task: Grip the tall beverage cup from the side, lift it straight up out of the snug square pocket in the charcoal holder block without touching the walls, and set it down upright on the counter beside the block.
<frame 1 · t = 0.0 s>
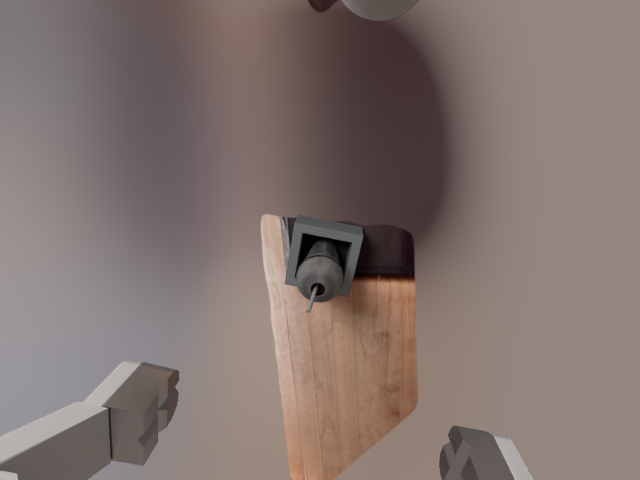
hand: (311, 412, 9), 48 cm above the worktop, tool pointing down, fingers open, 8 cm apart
beverage cup: (324, 250, 59), resting in holder block
holder block: (324, 250, 59), on the worktop
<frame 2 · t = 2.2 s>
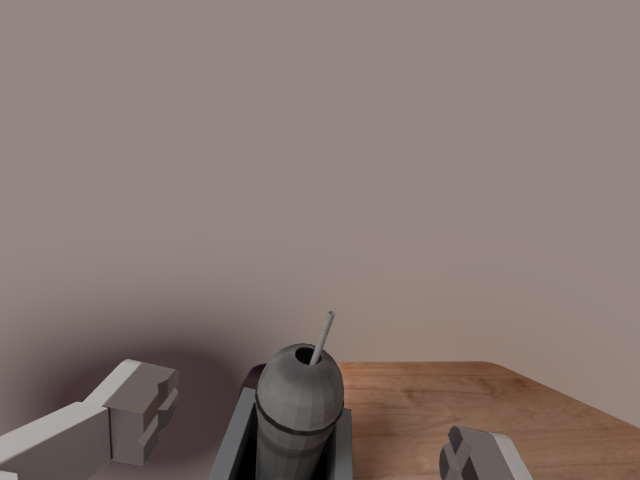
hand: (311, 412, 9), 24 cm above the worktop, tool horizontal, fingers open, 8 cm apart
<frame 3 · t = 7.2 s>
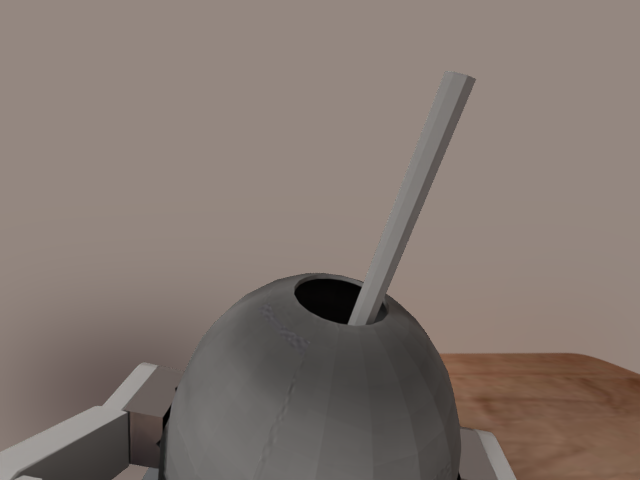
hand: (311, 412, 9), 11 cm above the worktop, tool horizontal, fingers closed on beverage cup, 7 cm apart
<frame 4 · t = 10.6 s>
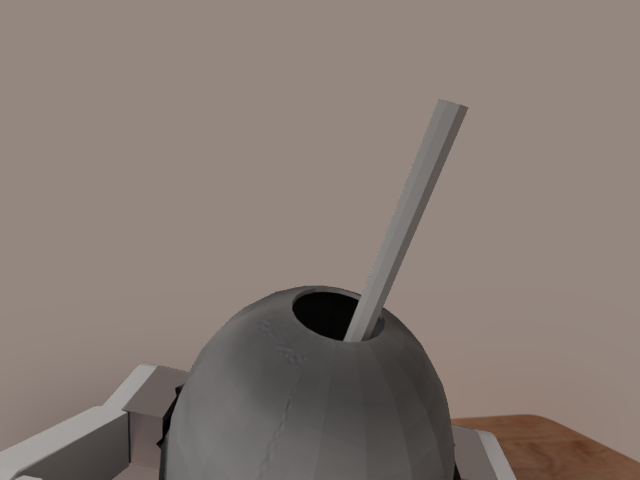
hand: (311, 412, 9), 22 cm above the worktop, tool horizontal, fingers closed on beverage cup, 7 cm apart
when the fingers open (12 cm above the worktop, at t = 14.4 s): beverage cup stays where it is, on the worktop.
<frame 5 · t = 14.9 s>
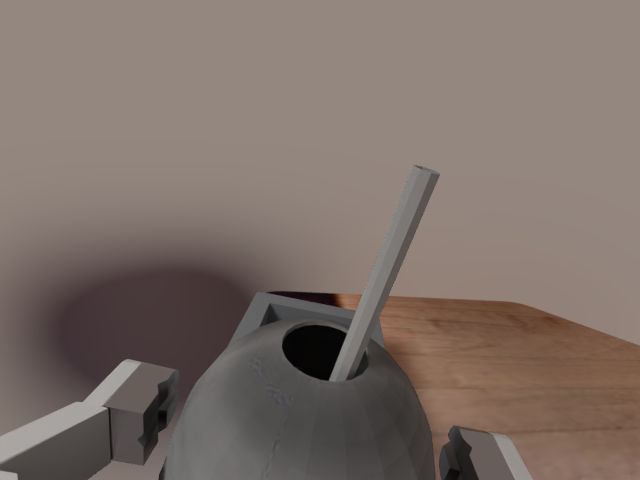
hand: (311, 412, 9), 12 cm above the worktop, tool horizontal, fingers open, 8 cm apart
holder block: (301, 392, 26), on the worktop
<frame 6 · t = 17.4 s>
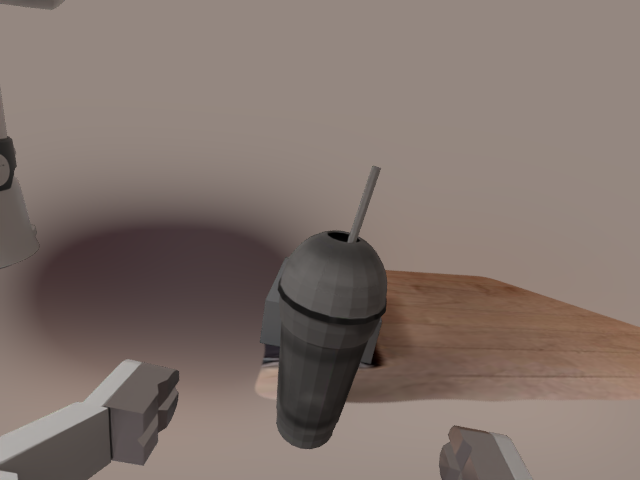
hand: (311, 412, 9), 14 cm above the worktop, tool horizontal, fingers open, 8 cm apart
beverage cup: (304, 423, 25), on the worktop
holder block: (319, 321, 38), on the worktop
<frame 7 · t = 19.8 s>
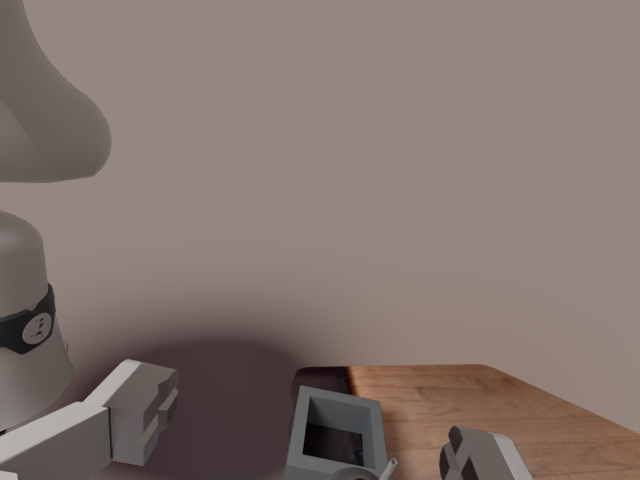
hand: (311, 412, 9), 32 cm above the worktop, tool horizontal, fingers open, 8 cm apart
holder block: (331, 456, 42), on the worktop
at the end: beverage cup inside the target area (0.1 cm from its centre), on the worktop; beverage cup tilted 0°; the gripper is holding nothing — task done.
